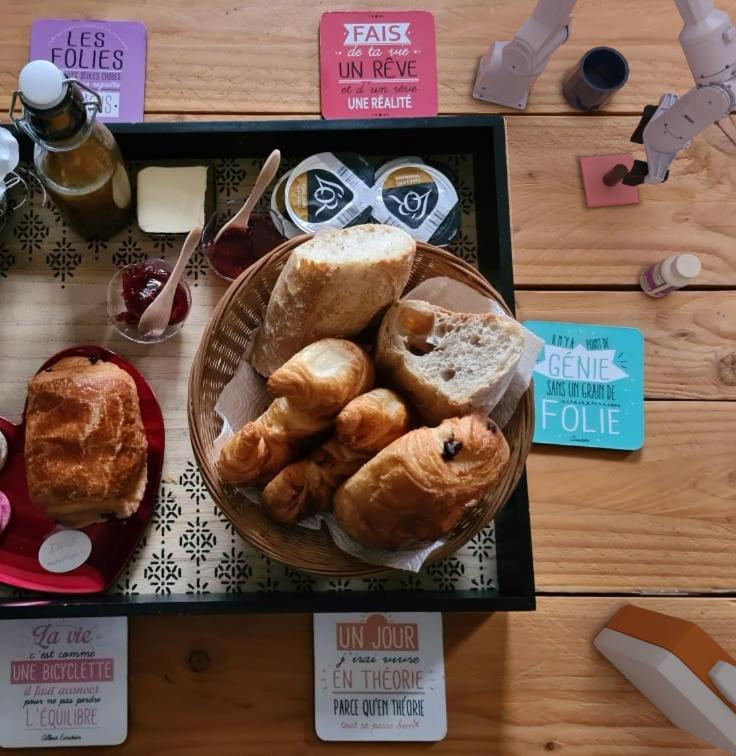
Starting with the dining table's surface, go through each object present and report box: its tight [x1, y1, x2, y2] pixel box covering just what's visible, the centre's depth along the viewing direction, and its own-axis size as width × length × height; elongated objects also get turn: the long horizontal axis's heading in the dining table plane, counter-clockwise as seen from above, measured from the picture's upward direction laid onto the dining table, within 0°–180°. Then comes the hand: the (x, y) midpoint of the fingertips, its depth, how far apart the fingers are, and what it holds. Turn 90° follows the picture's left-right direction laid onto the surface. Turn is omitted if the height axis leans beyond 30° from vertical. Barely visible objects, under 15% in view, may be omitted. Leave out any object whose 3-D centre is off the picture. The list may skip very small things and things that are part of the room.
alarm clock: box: [592, 603, 736, 756], centre depth 106 cm, size 18×9×21 cm, turn 45°
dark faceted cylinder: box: [562, 45, 630, 112], centre depth 128 cm, size 8×8×6 cm
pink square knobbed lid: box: [578, 153, 640, 208], centre depth 126 cm, size 9×9×4 cm
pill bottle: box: [639, 253, 702, 298], centre depth 121 cm, size 5×5×10 cm
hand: (632, 162), depth 121 cm, fingers open, 7 cm apart
